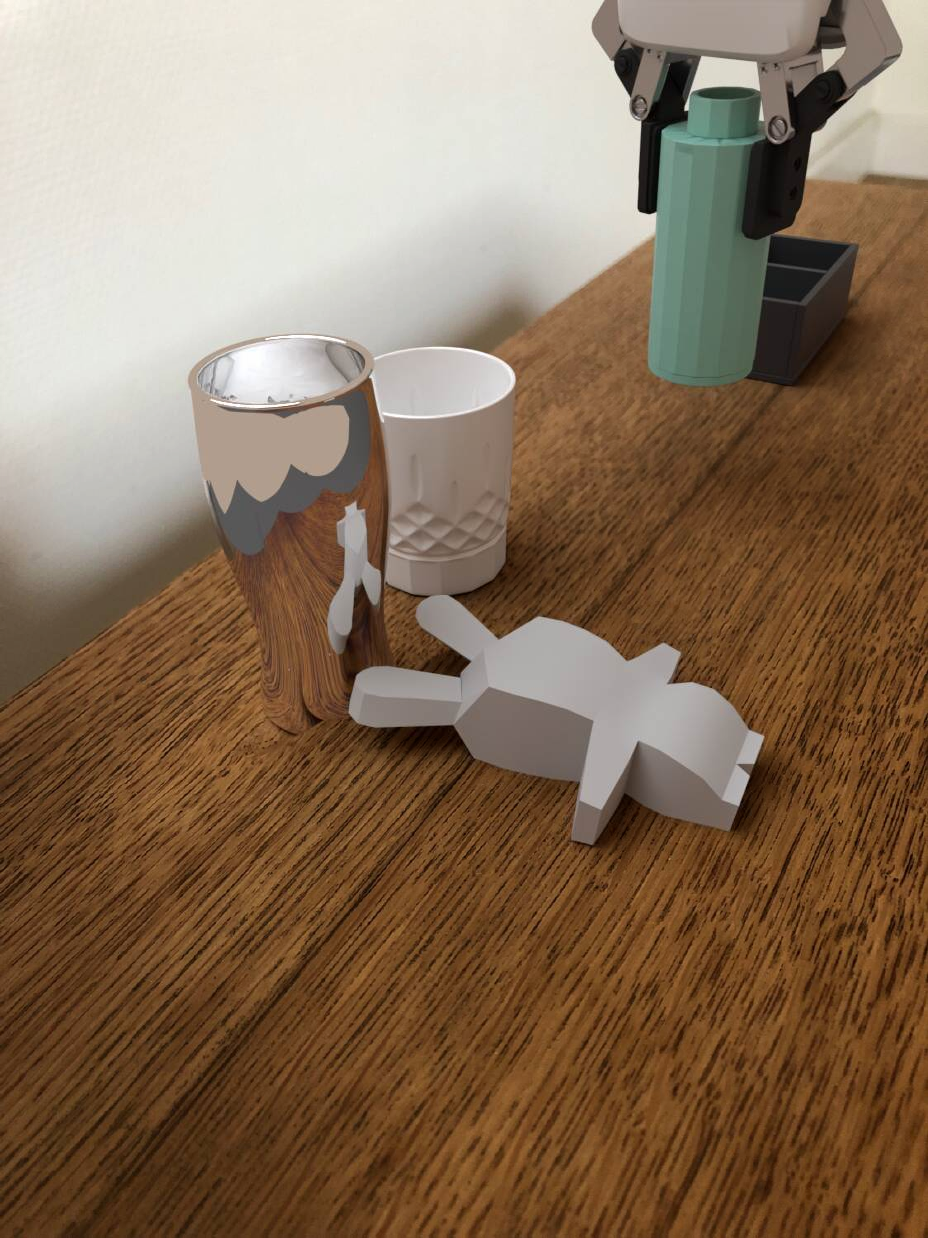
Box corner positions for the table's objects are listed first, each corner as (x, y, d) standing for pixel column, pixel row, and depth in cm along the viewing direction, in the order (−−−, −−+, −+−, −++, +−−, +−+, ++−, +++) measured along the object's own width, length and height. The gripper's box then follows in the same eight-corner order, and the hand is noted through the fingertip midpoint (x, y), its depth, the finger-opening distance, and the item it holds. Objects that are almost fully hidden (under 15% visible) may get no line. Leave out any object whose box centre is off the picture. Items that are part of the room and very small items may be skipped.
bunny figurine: (729, 833, 32) (326, 669, 37) (694, 925, 36) (328, 764, 40) (792, 660, 39) (445, 539, 44) (758, 751, 42) (438, 630, 47)
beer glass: (237, 666, 46) (167, 350, 38) (383, 628, 48) (349, 318, 39) (271, 765, 41) (198, 425, 32) (433, 718, 43) (406, 384, 34)
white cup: (430, 626, 48) (417, 434, 42) (333, 559, 53) (310, 379, 47) (548, 561, 52) (551, 378, 46) (448, 505, 57) (440, 333, 51)
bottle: (691, 336, 55) (714, 76, 47) (773, 363, 52) (812, 89, 44) (626, 366, 52) (640, 96, 45) (709, 396, 49) (739, 111, 41)
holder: (844, 317, 78) (859, 243, 74) (792, 386, 68) (806, 305, 65) (751, 303, 81) (761, 231, 77) (689, 367, 71) (697, 288, 68)
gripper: (1056, -335, 33) (928, 236, 44) (648, -278, 44) (627, 172, 55) (937, -345, 29) (830, 282, 40) (522, -280, 40) (527, 204, 51)
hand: (714, 214), depth 47 cm, fingers closed on bottle, 5 cm apart
